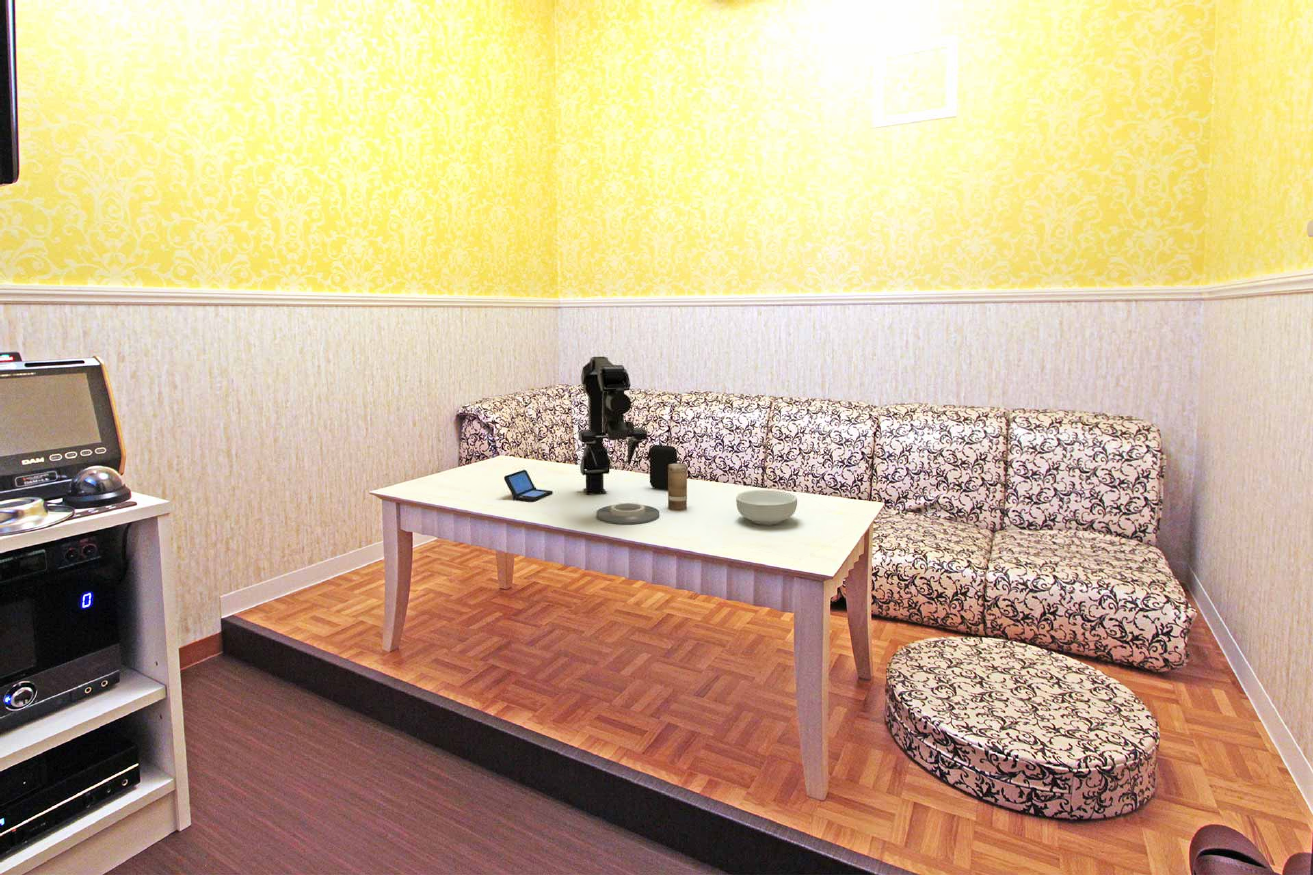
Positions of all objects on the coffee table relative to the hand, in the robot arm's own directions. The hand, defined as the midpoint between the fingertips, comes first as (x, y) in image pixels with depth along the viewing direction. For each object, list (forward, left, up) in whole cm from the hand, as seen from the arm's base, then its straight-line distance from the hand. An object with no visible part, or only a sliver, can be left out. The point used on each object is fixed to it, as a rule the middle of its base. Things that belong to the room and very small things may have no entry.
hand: (613, 465), depth 205 cm
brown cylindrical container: (-2, +20, -15) cm, 25 cm away
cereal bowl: (+17, +40, -15) cm, 46 cm away
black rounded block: (-26, +22, -15) cm, 37 cm away
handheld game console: (-28, -21, -15) cm, 38 cm away
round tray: (+2, +4, -15) cm, 15 cm away
